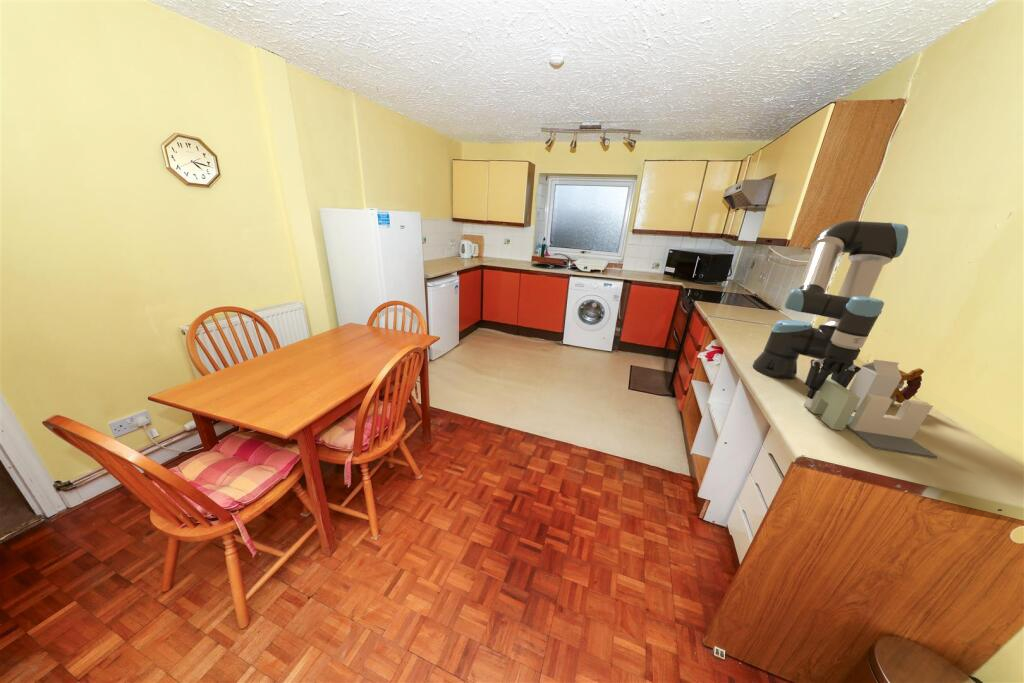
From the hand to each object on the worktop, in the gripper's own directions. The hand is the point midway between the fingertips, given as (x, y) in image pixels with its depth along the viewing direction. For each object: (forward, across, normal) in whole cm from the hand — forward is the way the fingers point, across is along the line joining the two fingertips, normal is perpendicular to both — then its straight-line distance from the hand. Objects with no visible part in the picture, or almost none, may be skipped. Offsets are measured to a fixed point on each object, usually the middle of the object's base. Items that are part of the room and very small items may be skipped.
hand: (814, 407), depth 113 cm
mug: (+2, +34, +17) cm, 38 cm away
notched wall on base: (+1, +13, -10) cm, 16 cm away
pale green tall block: (+1, 0, -4) cm, 5 cm away
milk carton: (+2, +20, +7) cm, 21 cm away
